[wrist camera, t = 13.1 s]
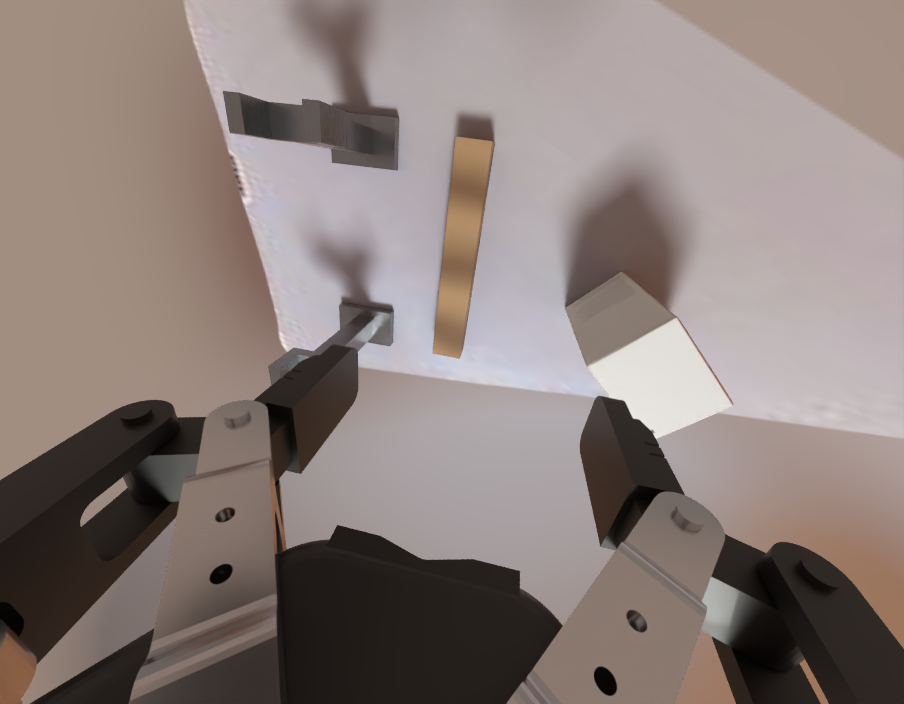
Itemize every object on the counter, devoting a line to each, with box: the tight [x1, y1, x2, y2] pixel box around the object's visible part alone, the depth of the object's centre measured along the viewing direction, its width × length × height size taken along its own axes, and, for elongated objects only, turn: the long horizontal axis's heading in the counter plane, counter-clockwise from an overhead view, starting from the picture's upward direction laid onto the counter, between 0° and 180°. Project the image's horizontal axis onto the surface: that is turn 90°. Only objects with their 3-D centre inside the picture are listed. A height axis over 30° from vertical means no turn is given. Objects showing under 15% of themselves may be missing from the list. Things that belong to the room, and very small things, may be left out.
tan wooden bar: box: [433, 137, 495, 359], centre depth 33 cm, size 20×3×3 cm, turn 173°
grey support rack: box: [223, 91, 399, 385], centre depth 30 cm, size 22×6×14 cm, turn 174°
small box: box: [565, 272, 733, 439], centre depth 29 cm, size 8×6×13 cm
